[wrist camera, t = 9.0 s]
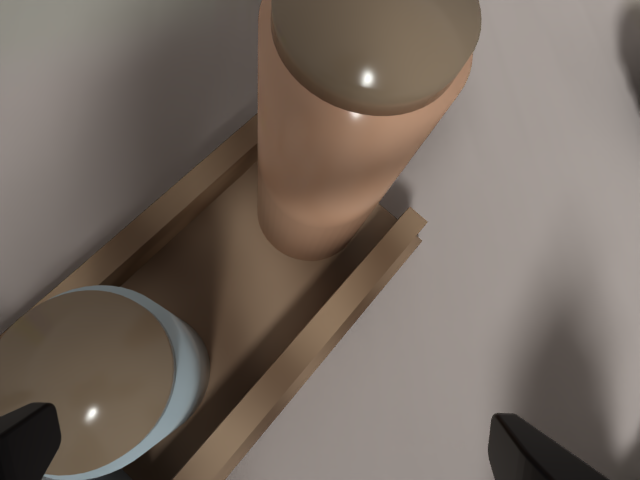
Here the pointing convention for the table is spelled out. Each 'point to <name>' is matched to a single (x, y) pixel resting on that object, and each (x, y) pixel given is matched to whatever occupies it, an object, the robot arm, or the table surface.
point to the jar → (349, 107)
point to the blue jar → (104, 375)
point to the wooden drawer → (240, 301)
